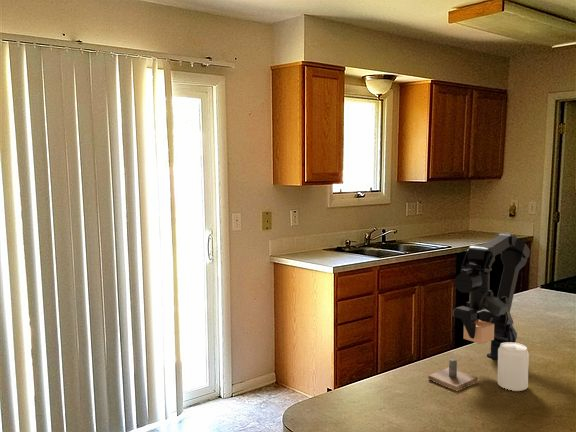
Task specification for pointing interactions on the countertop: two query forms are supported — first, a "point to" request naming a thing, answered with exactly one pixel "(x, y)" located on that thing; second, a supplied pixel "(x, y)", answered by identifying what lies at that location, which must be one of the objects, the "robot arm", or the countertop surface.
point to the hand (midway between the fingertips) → (478, 335)
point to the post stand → (453, 377)
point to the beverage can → (513, 366)
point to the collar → (481, 332)
